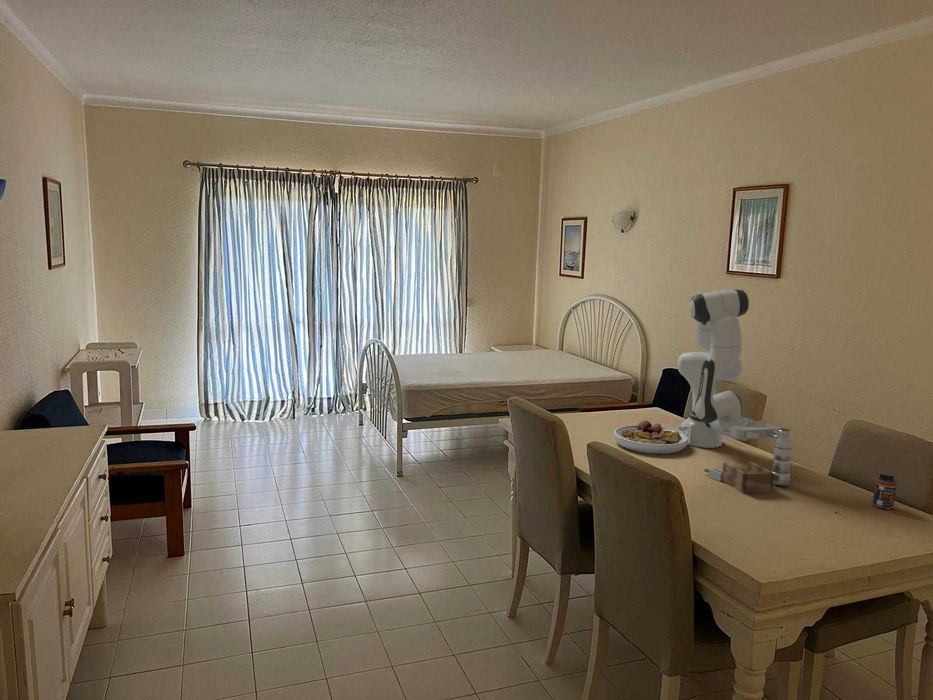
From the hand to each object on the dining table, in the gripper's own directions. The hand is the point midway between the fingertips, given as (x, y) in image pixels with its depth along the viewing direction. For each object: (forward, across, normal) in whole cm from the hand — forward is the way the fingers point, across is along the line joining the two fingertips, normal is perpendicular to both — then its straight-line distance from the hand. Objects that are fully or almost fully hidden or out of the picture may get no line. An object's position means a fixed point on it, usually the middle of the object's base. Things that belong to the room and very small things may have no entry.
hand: (768, 436), depth 256 cm
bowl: (-45, -21, +13) cm, 51 cm away
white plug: (-1, -20, +15) cm, 25 cm away
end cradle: (+8, -15, +16) cm, 23 cm away
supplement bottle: (+36, +16, +17) cm, 43 cm away
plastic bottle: (+10, -2, +16) cm, 18 cm away
